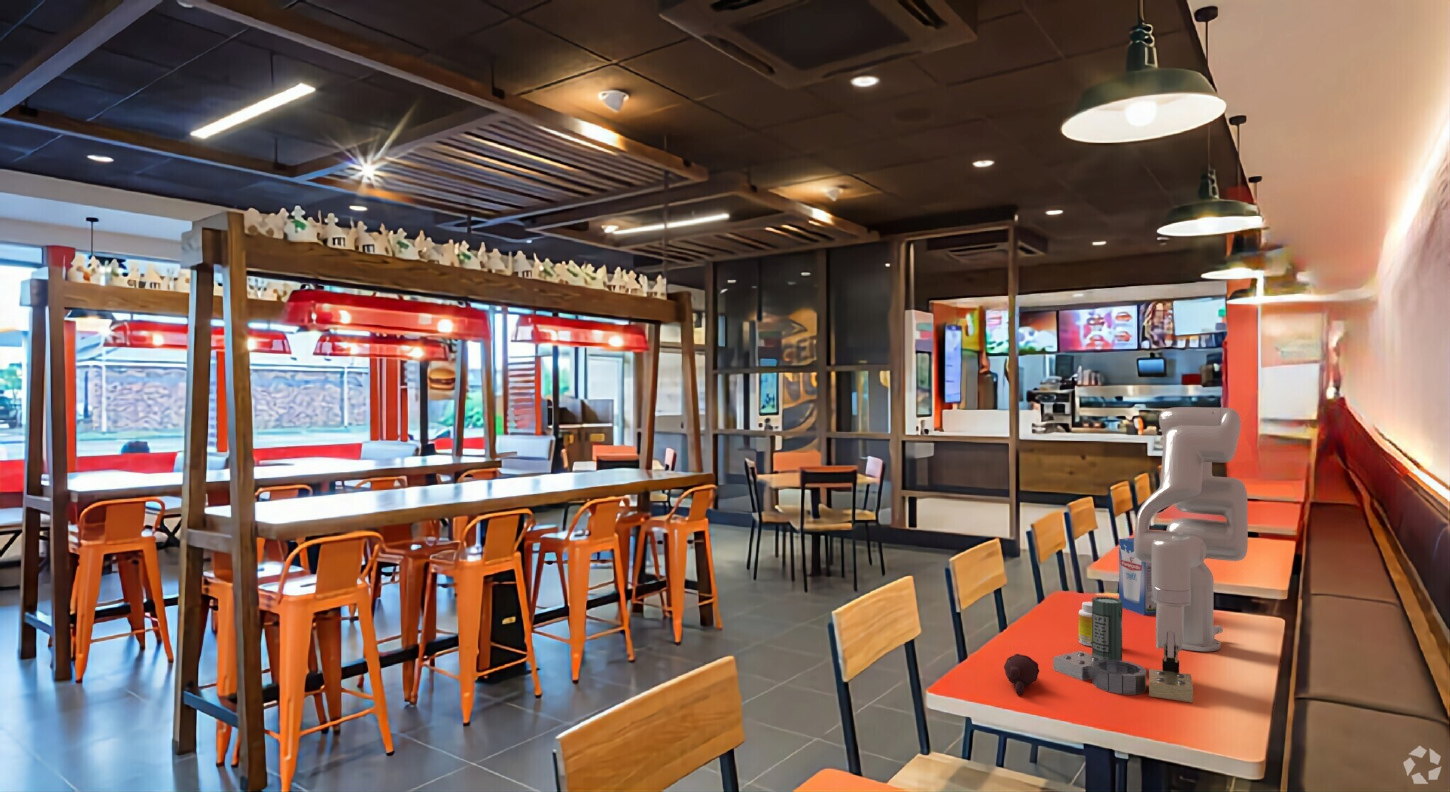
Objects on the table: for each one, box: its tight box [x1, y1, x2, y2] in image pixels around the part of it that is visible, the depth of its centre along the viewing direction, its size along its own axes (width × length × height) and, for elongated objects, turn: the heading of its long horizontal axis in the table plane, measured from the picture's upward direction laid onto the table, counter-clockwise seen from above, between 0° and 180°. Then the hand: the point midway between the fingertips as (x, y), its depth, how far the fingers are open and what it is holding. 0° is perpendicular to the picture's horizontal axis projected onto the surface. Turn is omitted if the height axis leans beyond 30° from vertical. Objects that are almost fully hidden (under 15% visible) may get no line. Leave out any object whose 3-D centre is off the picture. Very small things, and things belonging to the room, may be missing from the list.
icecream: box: [1003, 653, 1040, 696], centre depth 181 cm, size 7×7×15 cm
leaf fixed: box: [1052, 650, 1148, 696], centre depth 184 cm, size 10×19×4 cm, turn 27°
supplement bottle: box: [1078, 601, 1092, 647], centre depth 209 cm, size 6×6×10 cm
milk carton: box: [1118, 537, 1157, 616], centre depth 240 cm, size 10×6×20 cm, turn 16°
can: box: [1091, 596, 1123, 661], centre depth 194 cm, size 6×6×15 cm
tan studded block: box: [1148, 668, 1194, 703], centre depth 176 cm, size 9×8×3 cm
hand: (1170, 678), depth 181 cm, fingers closed
